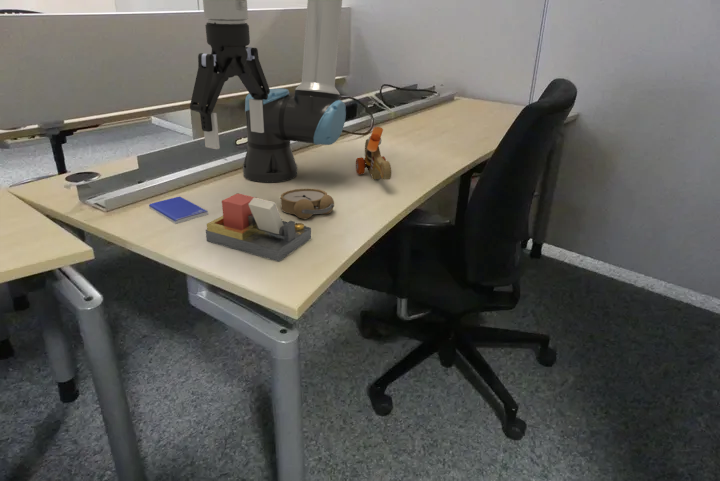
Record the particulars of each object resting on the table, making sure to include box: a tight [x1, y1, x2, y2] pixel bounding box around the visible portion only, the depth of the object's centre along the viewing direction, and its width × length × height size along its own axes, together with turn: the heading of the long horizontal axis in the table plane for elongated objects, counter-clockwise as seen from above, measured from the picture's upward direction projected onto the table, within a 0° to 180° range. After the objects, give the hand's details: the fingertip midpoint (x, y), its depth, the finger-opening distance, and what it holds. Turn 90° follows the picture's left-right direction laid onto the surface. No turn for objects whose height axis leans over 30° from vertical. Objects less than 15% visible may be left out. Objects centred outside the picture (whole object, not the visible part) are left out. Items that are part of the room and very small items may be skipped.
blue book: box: [148, 196, 209, 225], centre depth 121 cm, size 2×8×12 cm
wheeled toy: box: [355, 126, 392, 181], centre depth 142 cm, size 8×21×14 cm, turn 14°
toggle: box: [248, 197, 284, 236], centre depth 103 cm, size 2×6×8 cm, turn 63°
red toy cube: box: [221, 193, 257, 230], centre depth 108 cm, size 5×5×6 cm
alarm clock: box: [279, 188, 335, 220], centre depth 124 cm, size 11×5×15 cm
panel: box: [205, 214, 312, 262], centre depth 108 cm, size 12×18×6 cm, turn 63°
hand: (236, 139), depth 101 cm, fingers open, 13 cm apart
